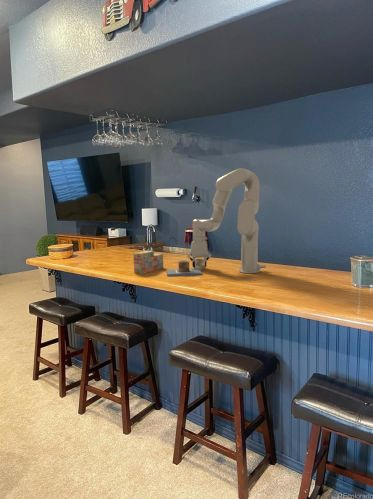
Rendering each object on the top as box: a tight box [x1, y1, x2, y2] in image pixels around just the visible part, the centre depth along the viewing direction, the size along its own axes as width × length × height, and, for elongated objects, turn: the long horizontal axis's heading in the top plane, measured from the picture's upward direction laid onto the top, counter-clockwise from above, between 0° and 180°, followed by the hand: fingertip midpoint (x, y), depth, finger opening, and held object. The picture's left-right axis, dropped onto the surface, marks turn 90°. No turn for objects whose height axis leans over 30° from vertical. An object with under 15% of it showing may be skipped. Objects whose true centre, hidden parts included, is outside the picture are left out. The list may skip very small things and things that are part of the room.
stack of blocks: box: [133, 250, 164, 275], centre depth 233 cm, size 21×6×12 cm, turn 146°
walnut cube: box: [177, 259, 190, 272], centre depth 221 cm, size 6×6×6 cm
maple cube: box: [193, 258, 206, 271], centre depth 234 cm, size 6×6×6 cm
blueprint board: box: [166, 268, 203, 277], centre depth 222 cm, size 20×14×1 cm
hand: (199, 267), depth 235 cm, fingers closed on maple cube, 6 cm apart
